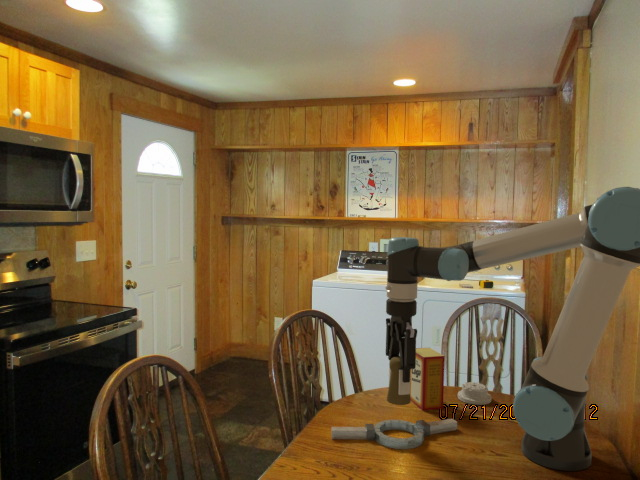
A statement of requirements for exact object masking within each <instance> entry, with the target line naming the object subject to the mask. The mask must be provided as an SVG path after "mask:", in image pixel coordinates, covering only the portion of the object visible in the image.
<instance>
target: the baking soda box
mask: <svg viewBox="0 0 640 480" xmlns="http://www.w3.org/2000/svg"><path fill="white" fill-rule="evenodd" d="M445 359H446V357H445V355H443V354H441V353H440V352H438V351H436V350H435V349H433V348H431V347H416V367H415V369H411V370H410V399H411V403H413V404H414V405H415V406H417V408H419V409H420V410H421V411H423V412H424V411H435V410H443V409H444V389H445V388H444V384H445Z"/></svg>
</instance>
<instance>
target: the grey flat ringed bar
mask: <svg viewBox="0 0 640 480" xmlns="http://www.w3.org/2000/svg"><path fill="white" fill-rule="evenodd" d="M364 424H365V425H364V426H331V439H332V440H366V441H368V442H369V441H370V442H373V441H375V442H376V443H378V444H379V445H381V446H383V447H386V448H390V449H394V450H395V449H396V450H411V449H414V448H415V449H416V448H418V447H420V446H421V445H423V443H424V441H425V438H426V437H431V435H436V434H441V433H446V432H452V431H453V432H454V431H457V430H458V421H456V420H455V419H454V418H447V419H442V420H433V421H430V422H426V421H425V420H424V419H418V420H416V421H415V423H414V422H412V421H411V422H410V421H408V420H402V419H385V420H381V421H379V422H377V423H375V425H374V423H364ZM390 430H393V431H394V430H396V431H397V430H399V431H405V432H409V433H410V434H413V436H411V437H407V438H404V437H403V438H401V437H398V438H397V437H392V436H390V435H386V434H384V433H383V432H386V431H390Z"/></svg>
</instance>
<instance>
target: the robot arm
mask: <svg viewBox="0 0 640 480" xmlns="http://www.w3.org/2000/svg"><path fill="white" fill-rule="evenodd" d="M580 247H581V250H582V252H583V257H582V260H581V262H580V265H579V268H578V269H577V272H576V275H575V277H574V279H573V282H572V285H571V287H570V289H569V292H568V294H567V297H566V299H565V302H564V304H563V306H562V309H561V312H560V314H559V316H558V319H557V322H556V323H555V326H554V329H553V331H552V333H551V335H550V338H549V341H548V344H547V346H546V349H545V350H544V353H543V356H539V357H536V358H534V359H533V361H532V362H531V364H530V367H529V369H528V371H527V373H526V377H525V379H524V382H523V383H522V387H521V388H520V389H519V390H518V391H517V392H516V394H515V396H514V399H513V403H512V410H513V411H512V412H513V415H514V417H515V420H516V421H517V423H518V425H519V427H520V428H521V429H522V430H523V431H524V434H523V436H522V439H521V452H522V455H524V456H525V457H526V458H527V459H528V460H531V462H534V463H535V464H538V465H540V466H542V467H545V468H548V469H553V470H558V471H564V472H578V471H584V470H587V469H588V468H590V467H589V466H591V465H592V457H593V455H592V454H593V453H592V450H591V446H590V443H589V440H588V437H587V433H586V430H585V429H586V428H585V421H586V420H585V419H586V401H587V400H586V397H587V396H586V395H588V391H589V390H590V386H589V383H588V382H587V380H588V378H589V377H588V371H589V368H590V366H591V363H592V361H593V358H594V357H595V354H596V352H597V349H598V347H599V344H600V342H601V340H602V338H603V336H604V334H605V331H606V329H607V326H608V324H609V321H610V319H611V317H612V315H613V312H614V310H615V307H616V305H617V303H618V301H619V298H620V296H621V294H622V292H623V289H624V287H625V285H626V282H627V280H628V278H629V275H630V273H631V271H633V270H634V269H636V268H640V188H639V187H632V186H620V187H615V188H613V189H610V190H607V191H606V192H604V193H602V194H601V195H600V196H598V197H597V198H596V201H594V202H593V204H590V205H585V206H583V207H582V208H581V210H580V212H576V213H573V214H569V215H566V216H561V217H557V218H554V219H550V220H547V221H543V222H539V223H535V224H532V225H527V226H524V227H520V228H516V229H512V230H508V231H505V232H502V233H498V234H495V235H490V236H487V237H483V238H478V239H475V240H471V241H468V242H464V243H459V244H456V245H455V244H454V245H451V246H450V245H449V246H445V247H431V246H430V247H429V246H421V245H420V241H419V239H418V238H416V237H407V236H402V237H401V236H395V237H391V238H390V239H389V240H388V243H387V253H386V257H387V271H386V272H387V273H386V274H387V276H386V277H387V279H386V281H387V282H386V286H385V290H386V297H387V299H386V301H385V302H386V304H385V307H386V308H385V312H386V313H385V314H387V315H388V316H390V318H389V317H388V318H386V319H385V326H386V331H385V335H386V336H385V356H386V357H387V359H388V361H389V363H390V360H391V358H393V357H400V361H401V367H398V369H399V391H398V394H399V395H406V394H410V370H411V369H415V367H416V348H417V336H418V329H417V328H413V327H412V319H411V318H412V317H415V316H416V315H417V311H418V310H417V304H418V302H417V300H416V299H417V298H418V278H426V279H434V280H444V281H447V282H451V281H456V282H458V281H463V280H464V279H465V278H466V276H467V275H468V273H472V272H476V271H480V270H484V269H489V268H493V267H497V266H502V265H507V264H511V263H514V262H519V261H524V260H528V259H532V258H536V257H541V256H544V255H545V256H547V255H550V254H554V253H559V252H560V253H561V252H564V251H568V250H573V249H577V248H580ZM388 367H389V369H388V372H389V373H388V384H389V383H390V376H391V369H390V366H389V365H388ZM583 469H584V470H583Z"/></svg>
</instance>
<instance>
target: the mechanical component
mask: <svg viewBox="0 0 640 480" xmlns="http://www.w3.org/2000/svg"><path fill="white" fill-rule="evenodd" d="M457 398H458V399H459V400H460V401H461V402H464V403H466V404H469V405H476V406H477V405H478V406H480V405H481V406H483V405H488V404H490V403H492V395H491V394H490V393H488V385H484V383H481V382H480V383H479V382H474V381H470V382H464V383H462V385H461V390H459V391H458V392H457Z"/></svg>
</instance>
